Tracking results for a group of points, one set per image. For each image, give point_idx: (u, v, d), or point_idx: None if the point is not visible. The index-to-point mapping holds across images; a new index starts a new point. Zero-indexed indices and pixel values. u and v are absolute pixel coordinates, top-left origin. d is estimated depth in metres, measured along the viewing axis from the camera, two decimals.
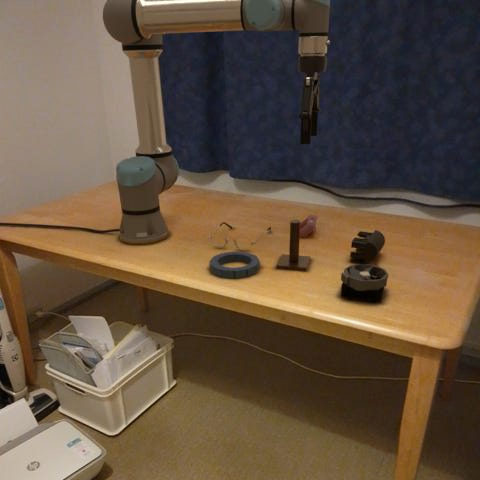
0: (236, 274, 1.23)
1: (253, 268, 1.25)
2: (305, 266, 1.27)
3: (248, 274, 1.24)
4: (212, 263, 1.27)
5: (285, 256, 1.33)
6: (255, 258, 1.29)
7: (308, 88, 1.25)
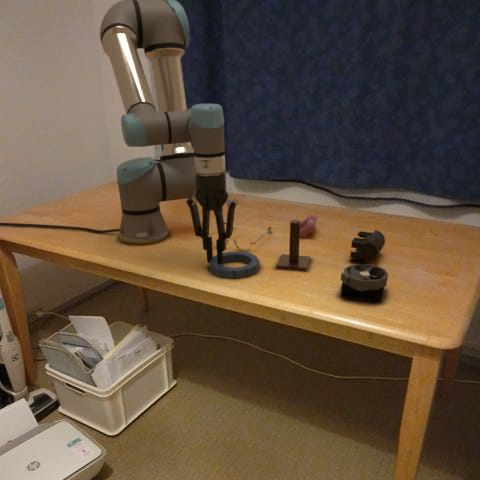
0: (236, 274, 1.23)
1: (253, 268, 1.25)
2: (305, 266, 1.27)
3: (248, 274, 1.24)
4: (212, 263, 1.27)
5: (285, 256, 1.33)
6: (255, 258, 1.29)
7: None
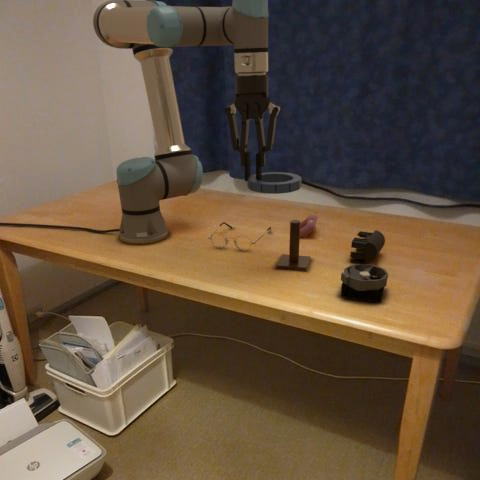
0: (278, 189, 1.13)
1: (296, 183, 1.15)
2: (305, 266, 1.27)
3: (290, 190, 1.14)
4: (250, 179, 1.17)
5: (285, 256, 1.33)
6: (296, 176, 1.19)
7: None
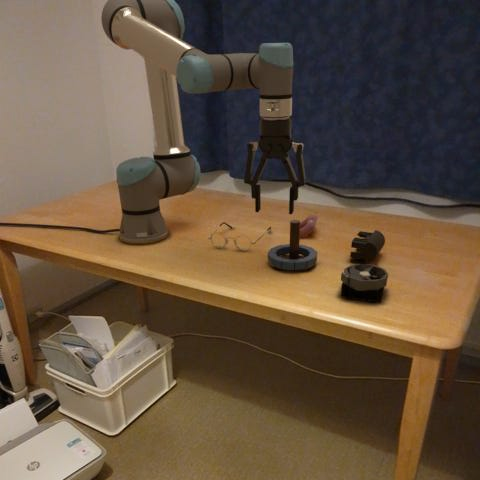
0: (296, 266, 1.24)
1: (312, 260, 1.26)
2: None
3: (308, 266, 1.25)
4: (271, 255, 1.28)
5: (285, 256, 1.33)
6: (312, 250, 1.31)
7: None
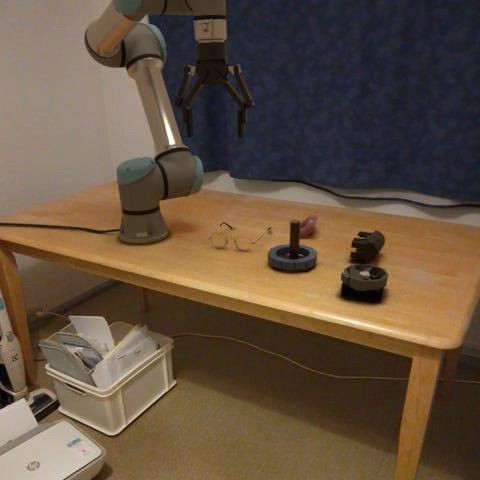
0: (296, 266, 1.24)
1: (312, 260, 1.26)
2: None
3: (308, 266, 1.25)
4: (271, 255, 1.28)
5: (285, 256, 1.33)
6: (312, 250, 1.31)
7: None
